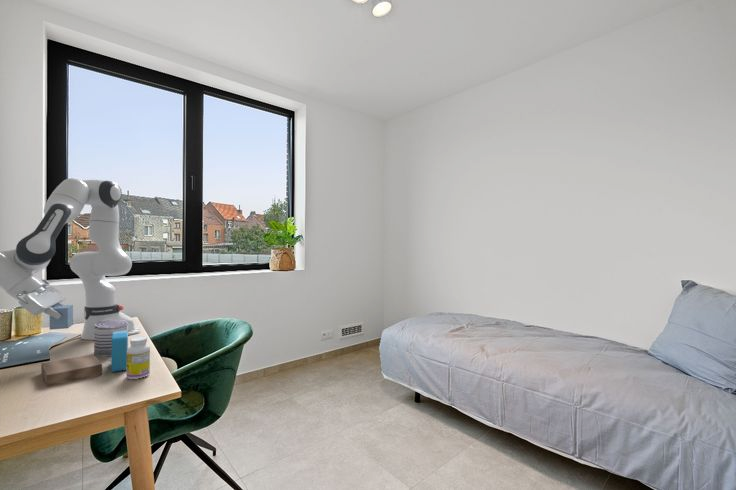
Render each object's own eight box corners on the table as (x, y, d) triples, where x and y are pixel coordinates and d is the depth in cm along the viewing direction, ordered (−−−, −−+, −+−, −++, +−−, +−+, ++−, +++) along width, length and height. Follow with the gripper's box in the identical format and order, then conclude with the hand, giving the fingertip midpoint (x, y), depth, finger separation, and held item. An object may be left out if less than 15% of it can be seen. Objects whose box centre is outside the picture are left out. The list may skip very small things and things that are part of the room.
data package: (112, 362, 131) (113, 330, 131) (127, 360, 133) (128, 329, 133) (111, 373, 121) (111, 339, 121) (127, 371, 123) (127, 337, 123)
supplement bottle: (128, 373, 121) (129, 336, 121) (151, 371, 124) (151, 335, 123) (124, 381, 115) (124, 342, 115) (147, 378, 118) (148, 340, 117)
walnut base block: (92, 364, 129) (93, 354, 129) (101, 375, 120) (102, 364, 120) (41, 375, 119) (41, 363, 119) (46, 387, 110) (46, 375, 109)
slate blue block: (55, 325, 131) (55, 305, 130) (73, 324, 133) (72, 305, 133) (49, 329, 126) (49, 308, 126) (67, 328, 128) (67, 307, 128)
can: (118, 345, 150) (118, 317, 150) (134, 350, 145) (135, 321, 145) (87, 353, 140) (87, 323, 140) (104, 358, 135) (104, 327, 135)
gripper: (22, 288, 116) (60, 315, 121) (48, 279, 135) (80, 303, 139) (4, 302, 115) (43, 329, 119) (33, 291, 133) (66, 315, 138)
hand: (63, 315), depth 130 cm, fingers closed on slate blue block, 5 cm apart
